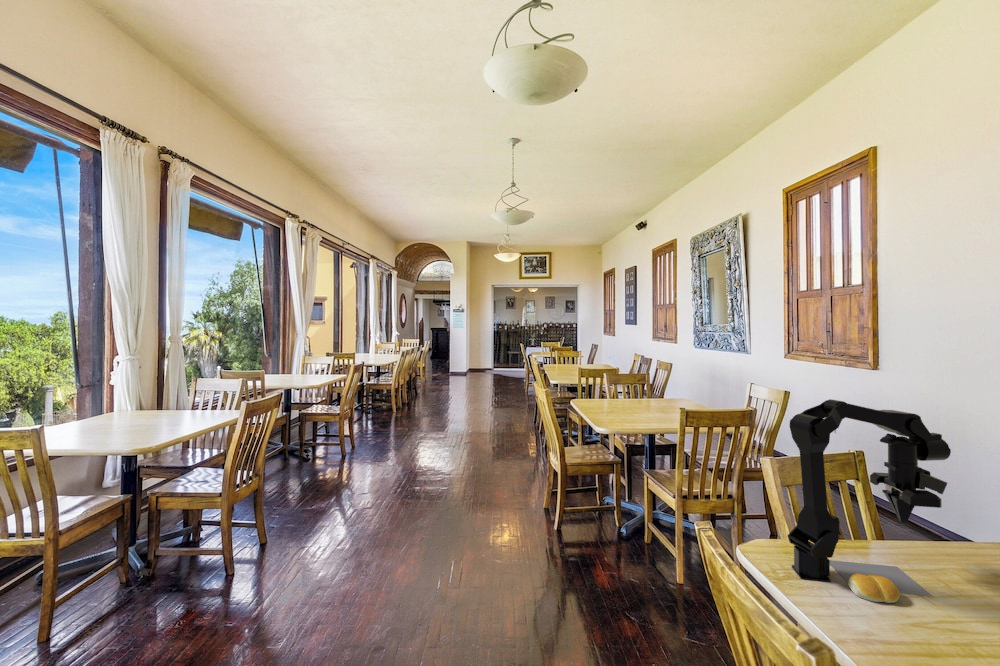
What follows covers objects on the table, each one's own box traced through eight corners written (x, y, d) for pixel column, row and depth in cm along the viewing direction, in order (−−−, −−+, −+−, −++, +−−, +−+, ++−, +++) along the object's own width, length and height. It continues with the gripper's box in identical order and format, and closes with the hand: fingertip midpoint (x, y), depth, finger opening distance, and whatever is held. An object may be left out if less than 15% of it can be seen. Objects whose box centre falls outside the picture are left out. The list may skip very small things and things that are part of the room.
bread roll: (908, 605, 101) (907, 588, 101) (861, 603, 103) (861, 586, 103) (885, 583, 109) (884, 566, 109) (842, 581, 111) (841, 565, 111)
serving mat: (853, 589, 109) (853, 588, 109) (826, 560, 123) (826, 559, 123) (933, 597, 105) (933, 596, 105) (896, 567, 119) (896, 566, 119)
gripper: (968, 473, 107) (969, 541, 107) (916, 453, 125) (916, 511, 125) (911, 470, 109) (912, 537, 109) (868, 451, 128) (869, 508, 127)
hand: (903, 522), depth 118 cm, fingers closed
